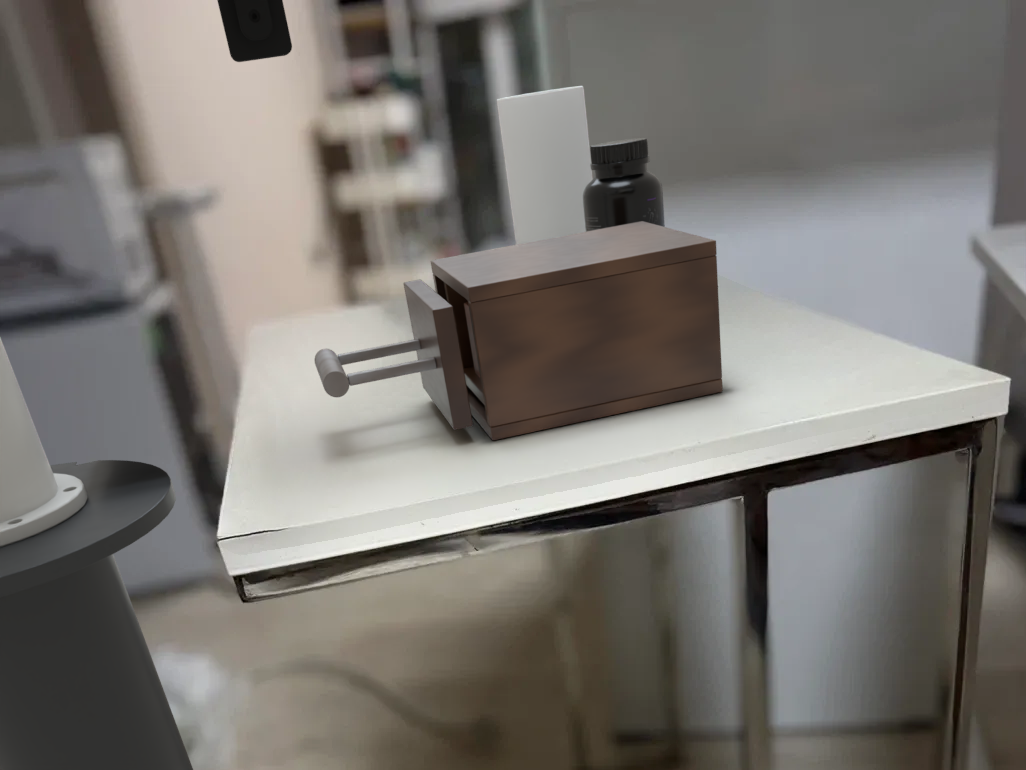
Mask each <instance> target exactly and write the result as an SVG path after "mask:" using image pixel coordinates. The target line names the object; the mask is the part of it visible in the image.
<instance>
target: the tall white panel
mask: <svg viewBox="0 0 1026 770" xmlns="http://www.w3.org/2000/svg"><path fill="white" fill-rule="evenodd" d="M496 106H497V113H498V122H499V128H500V137H501V145H502V152H503V159H504V166H505V173H506V180H507V181H506V182H507V188H508V195H509V203H510V209H511V210H510V211H511V217H512V225H513V232H514V240H515V245H517V244H522V243H528V242H533V241H538V240H544V239H549V238H555V237H560V236H565V235H571V234H576V233H581V232H586V229H585V219H584V208H583V192H584V190H585V188H586V186H587V185H588V184H589V183H590V182H591V181H592V180H593V179H594V178H593V170H591V166H590V164H591V153H590V146H591V145H590V136H589V126H588V116H587V106H586V96H585V88H584V86H583V85H578V86H577V85H576V86H568V87H561V88H555V89H554V88H553V89H548V90H547V89H546V90H542V91H534V92H528V93H522V94H517V95H511V96H506V97H501V98H497V99H496Z"/></svg>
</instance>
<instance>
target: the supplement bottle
mask: <svg viewBox="0 0 1026 770" xmlns="http://www.w3.org/2000/svg"><path fill="white" fill-rule="evenodd" d="M589 146H590V156H591V164H590V166H591V170H592V171H593V173H594V178H593V180H592V181H591V182H590V183H589V184H588V185H587V186H586V188H585V190H584V192H583V208H584V219H585V229H586V232H587V231H592V230H598V229H603V228H608V227H614V226H619V225H624V224H630V223H635V222H641V221H644V222H647V223H651V224H655V225H659V226H663V227H666V226H665V225H666V224H665V209H664V207H665V206H664V192H663V191H664V190H663V185H662V182H661V180H660V179H659V177H658V176H657V175H656V174H654V173H653V172H651V171H649V170H648V166H647V164H648V163H650V161H651V160H650V156H649V144H648V138H646V137H635V138H626V139H618V140H612V141H606V142H601V143H596V144H592V145H589Z"/></svg>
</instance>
